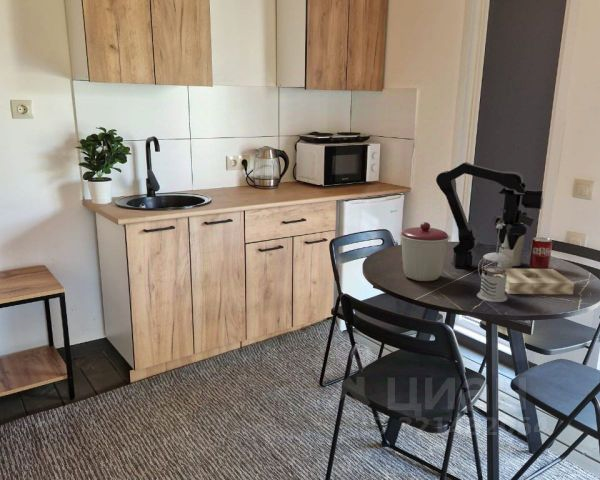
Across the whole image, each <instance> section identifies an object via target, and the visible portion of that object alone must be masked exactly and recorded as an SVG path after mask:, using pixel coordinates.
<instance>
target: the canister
mask: <svg viewBox="0 0 600 480" xmlns="http://www.w3.org/2000/svg"><path fill="white" fill-rule="evenodd" d="M399 237H401V238H400V239H401V253H402V254H401V256H402V268H403V269H402V270H403V272H404V275H405V276H406V277H407V278H408V279H411V280H413V281H418V282H432V281H435V280H438V279H439V278H440V276H441V274H442V270H443V267H444V262H445V257H446V253H447V247H448V242H449V240H450V239H451V235H450V234H448V233H447V232H446V231H445V230H442V229H438V228H435V227H431V225H430V223H429V222H425V221H424V222H421V224H420V226H419V227H418V226H416V227H409V228H406V229H403V230H402V231H400V233H399Z"/></svg>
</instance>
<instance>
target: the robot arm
mask: <svg viewBox="0 0 600 480" xmlns="http://www.w3.org/2000/svg"><path fill="white" fill-rule="evenodd" d="M463 175H470V176H473V177H476V178H481V179H485V180H489V181H493V182H495V183H498V184H499V185H501V186H502V187H503V188H502V189H501V190H500V191H499V192H498V194H500V195H503V202H502V203H503V204H502V207H500V211H501V212H502V213H501V215H494V217H492V223H493V226H494V228H495V231H496V235H498V233H499V239H498V241H499V242H500V244H501V245H502V244H503V243H504V241H505V237H506V236H507V240H508V245H509V249H510V250H513V249H514V246H515V244H516V242H517V240H518V238H519V237H521V236H522V235H524V236H525V235H527V233H528V228H527V227H526V226H528V227H532V226H533V223H534V221H535V218H533V217H531V216H529V215H528V213H527V212H526V211H523V210H521V209H520V207H521V206H523V207H524V209H534V210H542V207H543V202H544V198H543V193H544V192H543V190H540V189H538V190H535V189H529V188H528V187H527V185H526V184H525V182H524V176H523V175H522V173H520V172H518V171H506V170H505V171H502V170H495V169H492V168H488V167H484V166H480V165H476V164H472V163H470V162H466V161H465V162H463V163H460V164H459V165H458V166H456V167H454V168H452V169H451V170H445V171H443V172H440V173H438V174H437V176H436V178H435V182H436V184H437V186H438V188H439V190H440V191H441V192H442V193H443V194H444V195H445V198H446V200H447V203H448V206H449V208H450V209H449V210H450V211H451V214H452V215H453V219H454V222H455V224H456V227H457V231H458V232H457V233H458V234H457V235H458V243H457V244H456V245H455V246H453V248H452V249H453V256H452V262H451V265H452V266H453V267H454V269H473V258H474V256H473V253H472V251H471V250H472V249H474V247H476V246H477V245H478V243H479V237H480V235H478V232H477V228H476V227H471V226H470V224H469V222H468V219H467V216H466V214H465V211H464V207H463V205H462V203H461V200H460V198H459V196H458V192H457V182H456V179H458V178H459V177H461V176H463ZM520 205H521V206H520ZM521 223H523V224H524V225H522V224H521ZM497 225H502V229H500V230H499V228H496V226H497ZM525 225H526V226H525Z"/></svg>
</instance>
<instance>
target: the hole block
mask: <svg viewBox="0 0 600 480" xmlns="http://www.w3.org/2000/svg"><path fill="white" fill-rule="evenodd" d="M505 270H506V272H505V273H506V274H507V279H506V285H505V293H507V294H509V295H510V294H512V295H515V294H516V295H573V294H574V288H575V282H573V281H572V280H570V279H569V278H567V277H566V276H565V275H562V274H561V273H559V272H558V271H557V270H555V269H554V268H549V269H531V268H512V269H505ZM494 276H501V277H504V276H503V275H501V274H495V275H494Z"/></svg>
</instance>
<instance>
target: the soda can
mask: <svg viewBox="0 0 600 480" xmlns="http://www.w3.org/2000/svg"><path fill="white" fill-rule="evenodd" d="M552 247H553V241H552V239H551V238H548V237H541V236H540V237H539V236H537V237H533V238H532V239H531V246H530V253H529V254H530V255H529V262H528V267H529V269H550V263H551V257H552V256H551V254H552Z"/></svg>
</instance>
